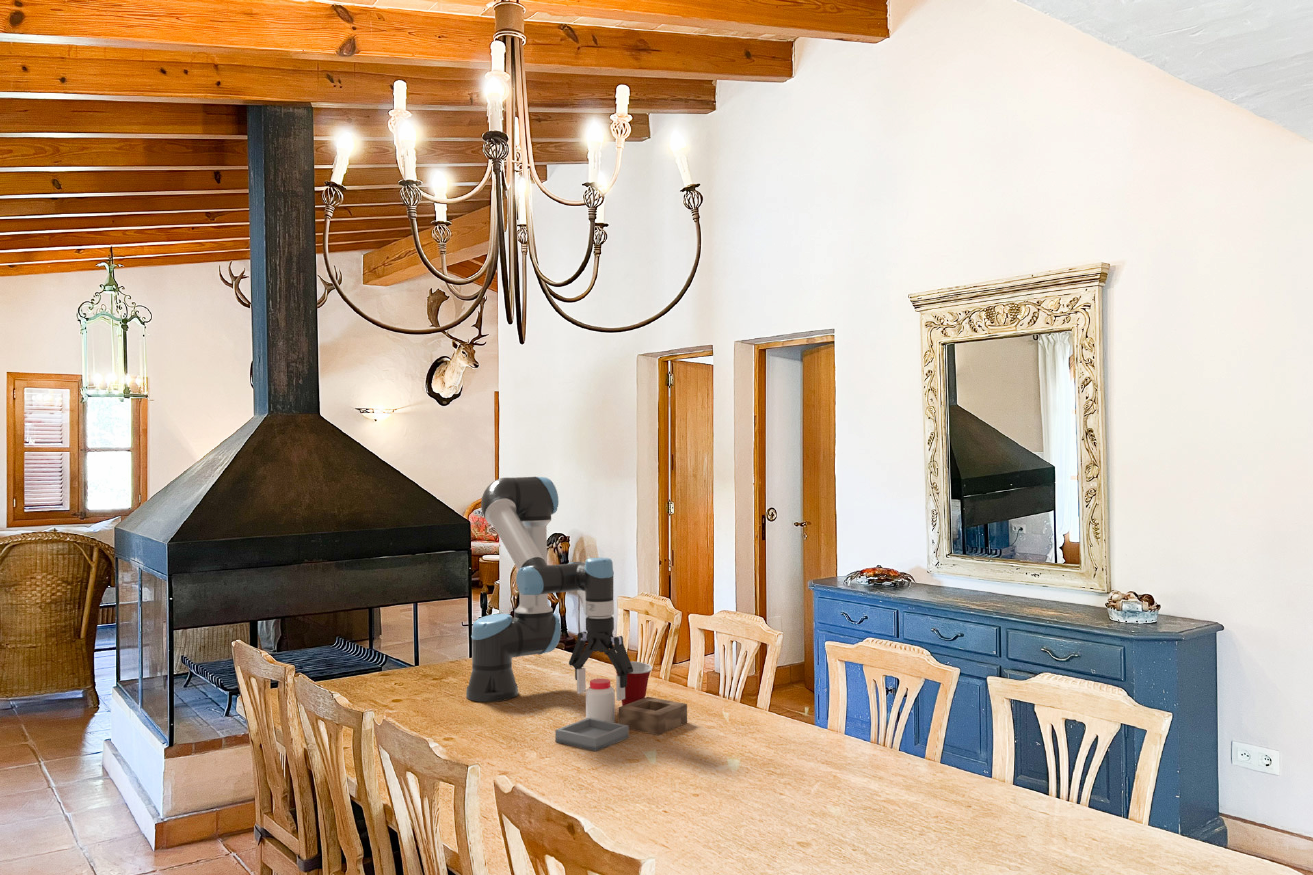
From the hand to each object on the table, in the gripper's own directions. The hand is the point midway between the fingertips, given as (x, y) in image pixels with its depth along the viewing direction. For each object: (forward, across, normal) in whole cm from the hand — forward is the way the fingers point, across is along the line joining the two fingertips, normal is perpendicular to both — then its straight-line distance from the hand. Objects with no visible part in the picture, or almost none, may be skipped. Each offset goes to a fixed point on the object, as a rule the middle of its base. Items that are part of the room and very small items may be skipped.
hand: (600, 696), depth 246 cm
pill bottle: (+7, 0, 0) cm, 7 cm away
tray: (+7, +8, -13) cm, 17 cm away
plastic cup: (+7, -1, +16) cm, 18 cm away
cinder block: (+7, +13, +6) cm, 16 cm away
